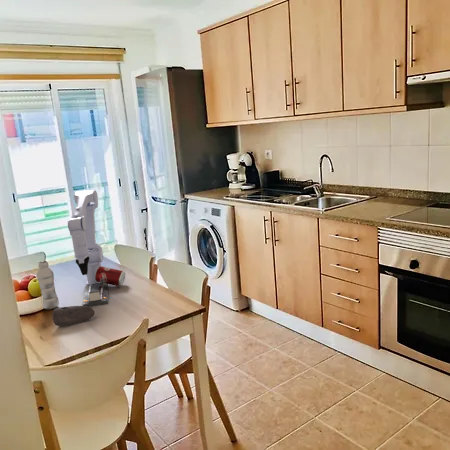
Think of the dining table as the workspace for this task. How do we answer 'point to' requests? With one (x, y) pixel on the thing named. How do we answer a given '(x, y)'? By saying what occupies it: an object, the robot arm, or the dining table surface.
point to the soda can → (110, 276)
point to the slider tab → (94, 295)
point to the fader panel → (102, 290)
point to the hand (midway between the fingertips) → (84, 274)
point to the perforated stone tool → (72, 315)
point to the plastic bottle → (47, 285)
